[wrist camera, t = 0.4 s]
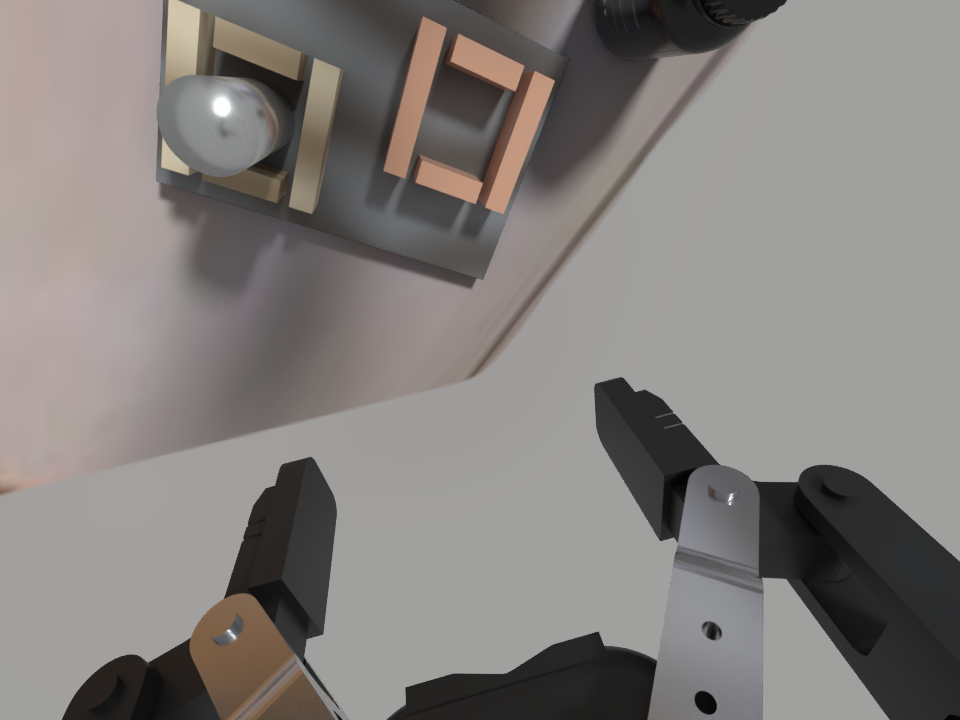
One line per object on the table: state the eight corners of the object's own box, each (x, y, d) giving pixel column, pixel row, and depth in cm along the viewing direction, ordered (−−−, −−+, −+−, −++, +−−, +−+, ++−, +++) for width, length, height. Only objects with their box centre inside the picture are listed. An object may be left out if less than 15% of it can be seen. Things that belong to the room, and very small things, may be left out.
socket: (419, 22, 27) (423, 16, 25) (540, 81, 30) (554, 80, 27) (383, 164, 31) (383, 171, 28) (494, 204, 34) (503, 214, 31)
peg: (229, 66, 27) (158, 57, 18) (300, 94, 28) (264, 98, 20) (222, 137, 28) (155, 158, 20) (289, 160, 30) (252, 189, 21)
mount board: (180, -134, 23) (141, -176, 20) (561, 60, 31) (586, 57, 27) (165, 177, 30) (134, 190, 26) (479, 273, 38) (490, 294, 34)
